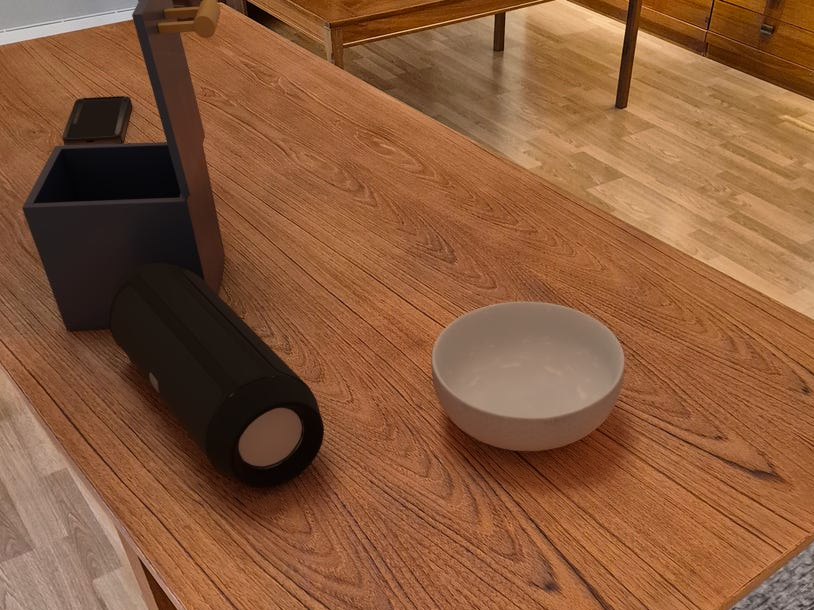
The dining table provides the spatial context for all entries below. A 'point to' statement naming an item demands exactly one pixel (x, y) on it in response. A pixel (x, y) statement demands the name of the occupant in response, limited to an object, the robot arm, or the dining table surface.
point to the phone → (98, 121)
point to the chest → (118, 223)
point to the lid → (175, 77)
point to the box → (185, 1)
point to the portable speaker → (216, 376)
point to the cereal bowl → (527, 374)
